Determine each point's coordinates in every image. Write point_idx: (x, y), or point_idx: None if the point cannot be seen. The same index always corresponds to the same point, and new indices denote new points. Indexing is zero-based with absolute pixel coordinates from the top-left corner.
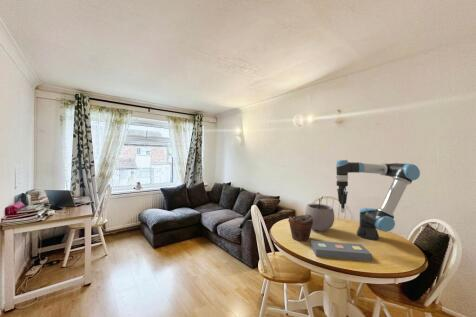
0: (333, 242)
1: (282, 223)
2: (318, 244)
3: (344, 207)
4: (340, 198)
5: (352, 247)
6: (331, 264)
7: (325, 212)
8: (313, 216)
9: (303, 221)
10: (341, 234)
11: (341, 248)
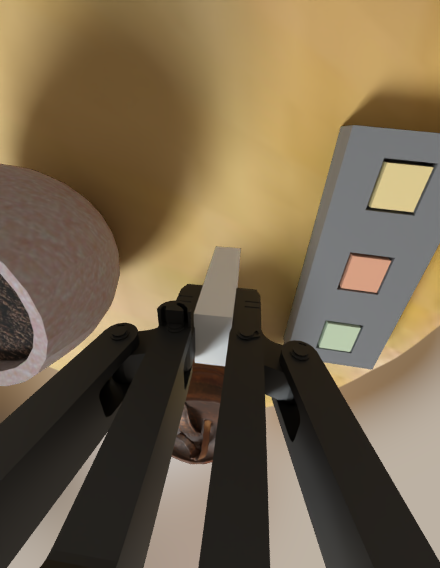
0: (313, 279)
1: (55, 362)
2: (331, 348)
3: (236, 283)
4: (171, 446)
5: (380, 207)
6: (431, 326)
7: (60, 294)
8: (87, 335)
9: (214, 415)
10: (107, 127)
11: (384, 273)
